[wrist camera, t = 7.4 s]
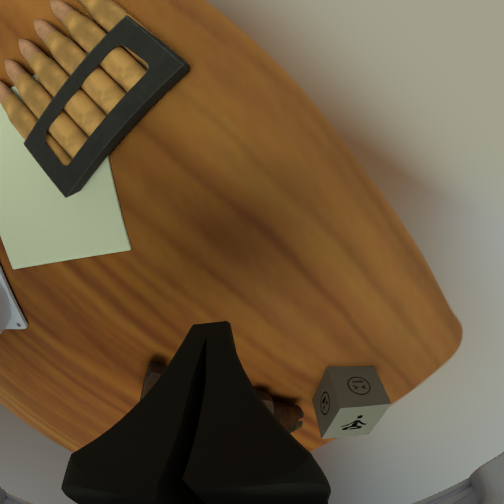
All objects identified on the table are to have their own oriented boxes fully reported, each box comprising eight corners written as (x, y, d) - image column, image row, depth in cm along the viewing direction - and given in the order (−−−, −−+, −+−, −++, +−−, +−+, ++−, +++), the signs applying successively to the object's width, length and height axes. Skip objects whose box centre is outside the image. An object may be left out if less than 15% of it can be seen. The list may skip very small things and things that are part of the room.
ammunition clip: (192, 68, 15) (84, -24, 12) (186, 62, 14) (72, -33, 10) (79, 192, 18) (-5, 90, 14) (65, 199, 16) (-21, 90, 13)
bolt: (287, 395, 31) (147, 365, 27) (312, 388, 27) (151, 354, 23) (282, 446, 27) (135, 421, 24) (308, 447, 24) (136, 421, 20)
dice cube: (312, 399, 29) (321, 438, 24) (327, 366, 27) (340, 408, 22) (355, 397, 29) (368, 434, 25) (373, 365, 27) (391, 403, 23)
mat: (14, 268, 21) (13, 269, 20) (-26, 111, 15) (-28, 111, 14) (131, 248, 21) (130, 249, 20) (92, 50, 15) (91, 50, 14)
